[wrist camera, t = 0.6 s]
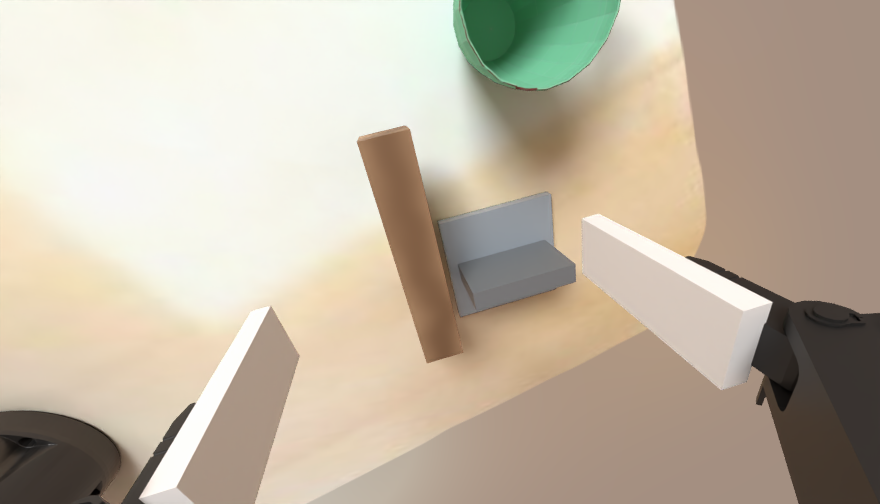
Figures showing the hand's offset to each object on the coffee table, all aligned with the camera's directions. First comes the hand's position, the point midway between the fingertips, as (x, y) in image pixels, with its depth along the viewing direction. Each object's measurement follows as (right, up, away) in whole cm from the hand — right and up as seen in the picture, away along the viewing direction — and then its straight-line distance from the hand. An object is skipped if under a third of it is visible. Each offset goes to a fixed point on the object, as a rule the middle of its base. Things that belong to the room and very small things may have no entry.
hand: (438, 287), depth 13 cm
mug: (+6, +21, +13) cm, 26 cm away
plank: (-2, +2, +15) cm, 15 cm away
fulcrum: (+7, +1, +23) cm, 24 cm away
